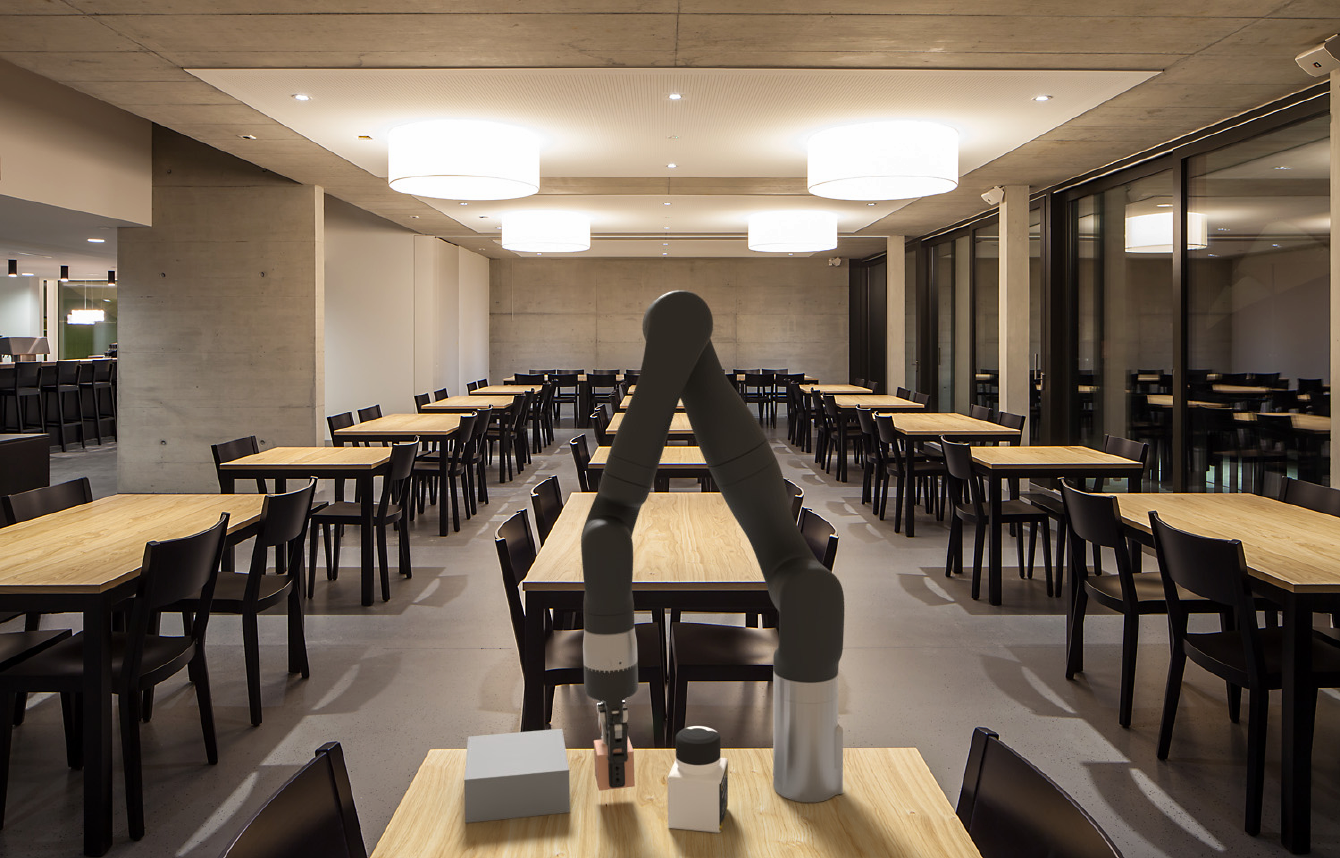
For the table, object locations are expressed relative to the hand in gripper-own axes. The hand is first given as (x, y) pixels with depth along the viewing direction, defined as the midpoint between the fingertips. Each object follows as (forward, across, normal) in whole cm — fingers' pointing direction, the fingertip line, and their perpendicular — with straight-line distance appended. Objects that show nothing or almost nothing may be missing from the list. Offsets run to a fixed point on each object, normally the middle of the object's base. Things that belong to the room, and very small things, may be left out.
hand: (614, 776), depth 123 cm
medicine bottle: (+4, -7, -10) cm, 13 cm away
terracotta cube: (0, 0, 0) cm, 0 cm away
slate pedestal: (+3, +5, +14) cm, 15 cm away
